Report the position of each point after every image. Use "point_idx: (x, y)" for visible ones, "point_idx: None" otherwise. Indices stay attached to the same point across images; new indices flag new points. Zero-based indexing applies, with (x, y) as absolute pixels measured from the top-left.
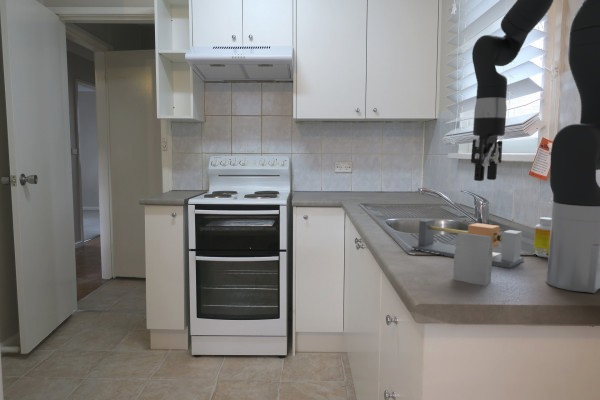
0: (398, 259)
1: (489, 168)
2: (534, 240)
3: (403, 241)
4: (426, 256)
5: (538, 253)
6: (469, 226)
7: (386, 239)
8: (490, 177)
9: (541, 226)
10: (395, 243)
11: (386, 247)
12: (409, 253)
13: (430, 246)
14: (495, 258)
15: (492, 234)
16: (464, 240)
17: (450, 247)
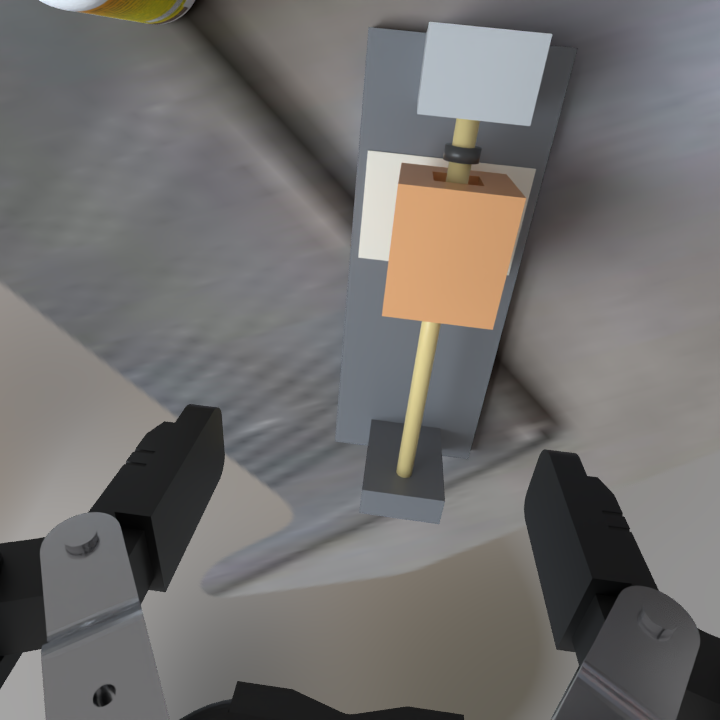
0: (651, 437)
1: (175, 546)
2: (142, 14)
3: (349, 505)
4: (545, 385)
5: None
6: (493, 320)
7: (360, 548)
8: (217, 454)
9: None
10: None
11: (485, 514)
12: (532, 439)
13: (426, 413)
14: (490, 142)
15: (504, 188)
16: None
17: (392, 354)
